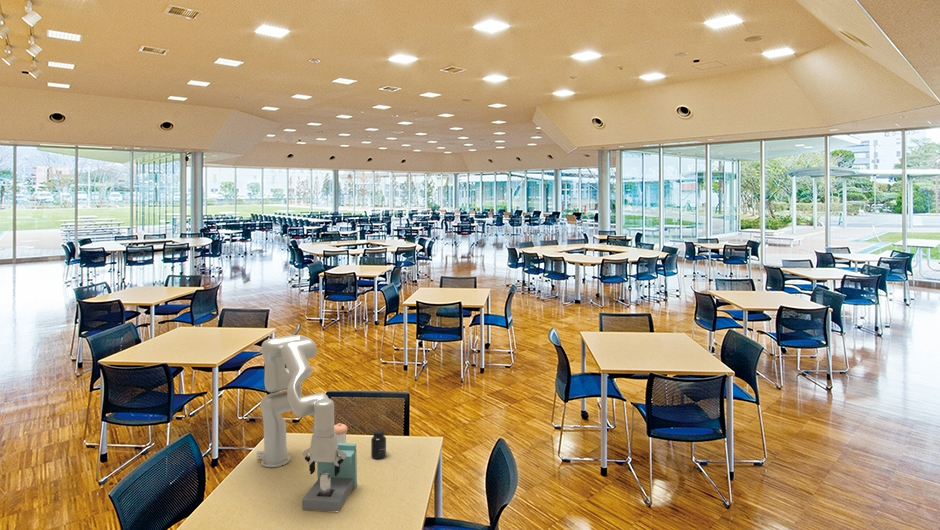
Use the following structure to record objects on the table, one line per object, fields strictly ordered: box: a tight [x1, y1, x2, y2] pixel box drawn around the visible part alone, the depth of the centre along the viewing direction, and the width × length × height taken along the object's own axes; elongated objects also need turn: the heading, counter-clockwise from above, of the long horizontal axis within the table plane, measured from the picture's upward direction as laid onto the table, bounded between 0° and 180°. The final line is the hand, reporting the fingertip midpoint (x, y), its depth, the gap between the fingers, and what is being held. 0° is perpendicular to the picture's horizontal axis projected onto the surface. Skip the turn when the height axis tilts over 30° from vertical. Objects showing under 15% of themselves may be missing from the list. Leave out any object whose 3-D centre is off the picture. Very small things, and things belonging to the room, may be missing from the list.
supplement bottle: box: [370, 429, 387, 460], centre depth 248 cm, size 7×7×12 cm
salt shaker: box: [334, 422, 348, 443], centre depth 239 cm, size 7×7×19 cm
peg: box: [320, 471, 331, 497], centre depth 208 cm, size 4×4×12 cm
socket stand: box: [301, 442, 358, 512], centre depth 212 cm, size 16×20×18 cm
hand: (324, 473), depth 208 cm, fingers open, 9 cm apart
